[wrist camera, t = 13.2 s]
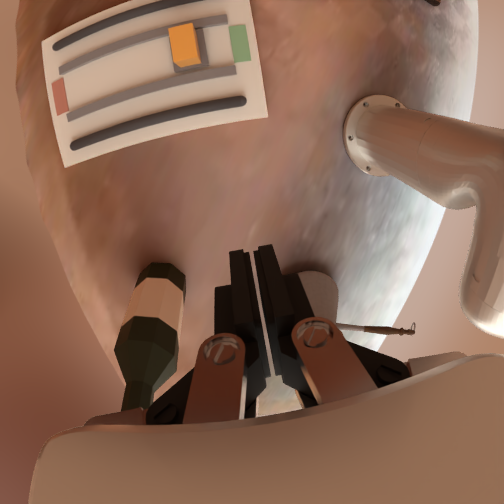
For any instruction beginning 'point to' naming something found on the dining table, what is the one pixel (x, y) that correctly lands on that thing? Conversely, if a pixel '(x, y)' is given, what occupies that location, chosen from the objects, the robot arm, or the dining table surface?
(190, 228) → the dining table surface
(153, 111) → the slider track board
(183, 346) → the dining table surface
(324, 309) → the coffee pot
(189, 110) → the dressed cords
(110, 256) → the dining table surface
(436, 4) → the hardcover book
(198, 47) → the handle
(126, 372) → the wine bottle
